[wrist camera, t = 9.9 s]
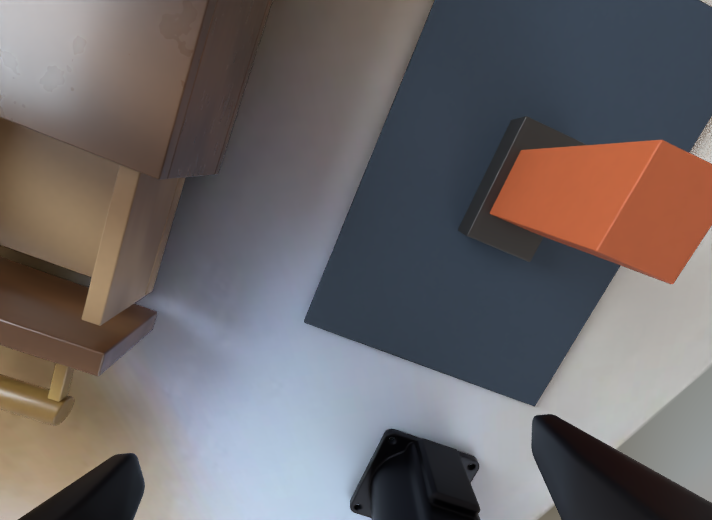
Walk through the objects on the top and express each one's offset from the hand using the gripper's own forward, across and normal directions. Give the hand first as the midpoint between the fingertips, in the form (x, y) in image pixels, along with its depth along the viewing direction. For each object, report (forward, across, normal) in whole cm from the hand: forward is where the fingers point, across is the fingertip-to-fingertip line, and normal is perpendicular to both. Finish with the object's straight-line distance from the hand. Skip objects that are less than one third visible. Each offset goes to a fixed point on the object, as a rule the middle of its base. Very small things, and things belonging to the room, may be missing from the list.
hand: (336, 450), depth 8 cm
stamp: (+12, -9, -4) cm, 16 cm away
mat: (+13, -9, -4) cm, 16 cm away
